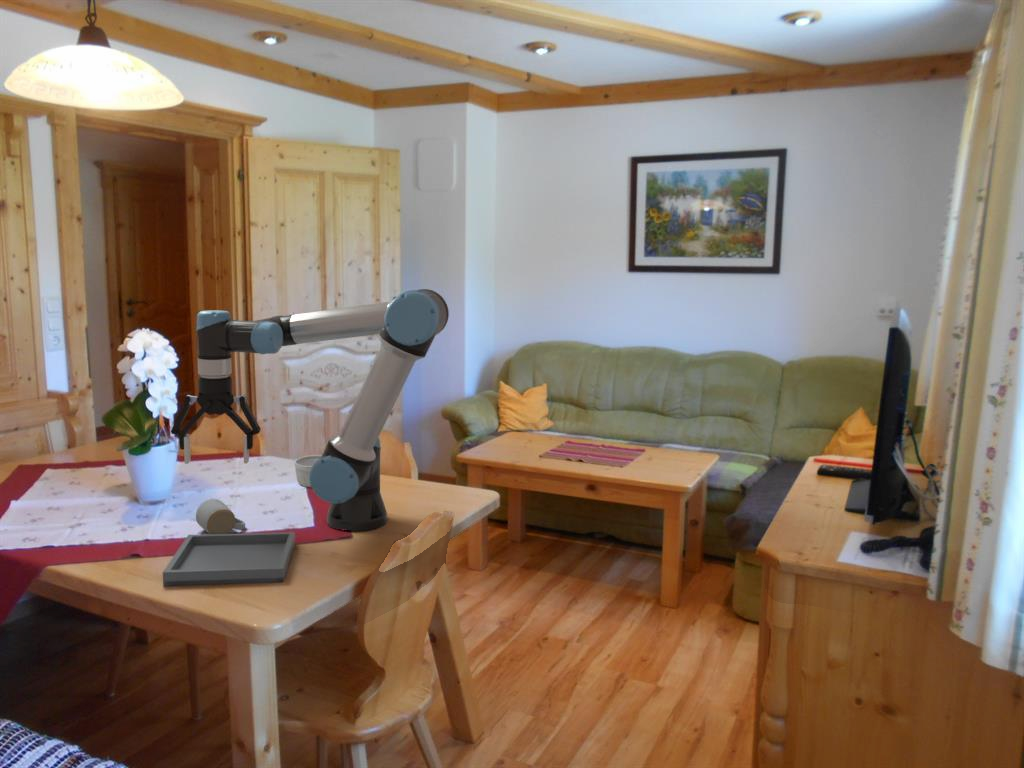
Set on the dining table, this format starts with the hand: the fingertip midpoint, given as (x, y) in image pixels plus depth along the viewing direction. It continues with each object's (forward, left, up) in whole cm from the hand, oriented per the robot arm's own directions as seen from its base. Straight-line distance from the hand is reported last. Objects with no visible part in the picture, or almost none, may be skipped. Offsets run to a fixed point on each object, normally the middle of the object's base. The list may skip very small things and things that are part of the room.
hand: (217, 462), depth 193 cm
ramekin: (-20, -41, -18) cm, 49 cm away
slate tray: (-7, +21, -18) cm, 28 cm away
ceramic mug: (-1, 0, -18) cm, 18 cm away
